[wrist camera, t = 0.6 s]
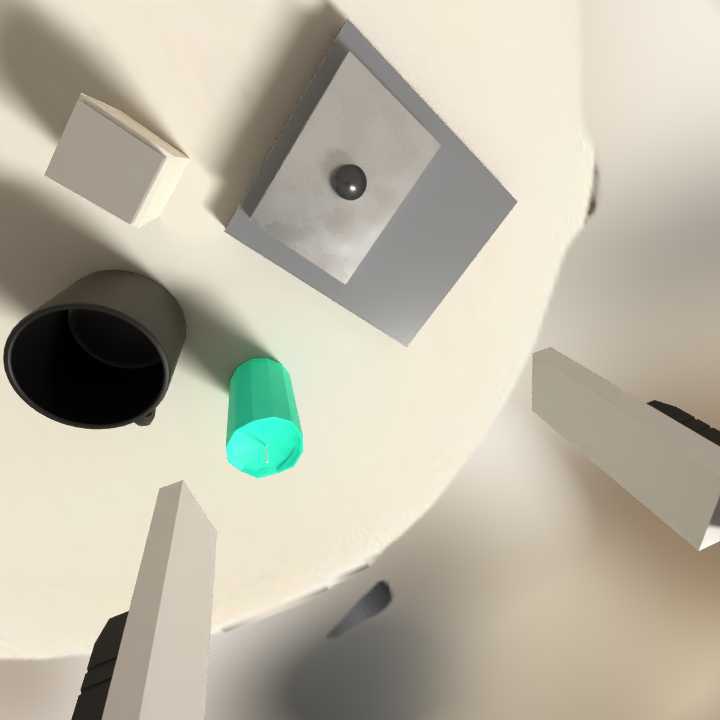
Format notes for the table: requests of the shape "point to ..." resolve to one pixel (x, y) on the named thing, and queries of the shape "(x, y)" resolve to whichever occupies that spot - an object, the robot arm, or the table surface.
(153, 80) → the table surface
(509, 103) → the table surface
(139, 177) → the plug
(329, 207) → the panel
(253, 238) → the grey flat frame
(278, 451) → the candle
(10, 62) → the table surface
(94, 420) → the mug
